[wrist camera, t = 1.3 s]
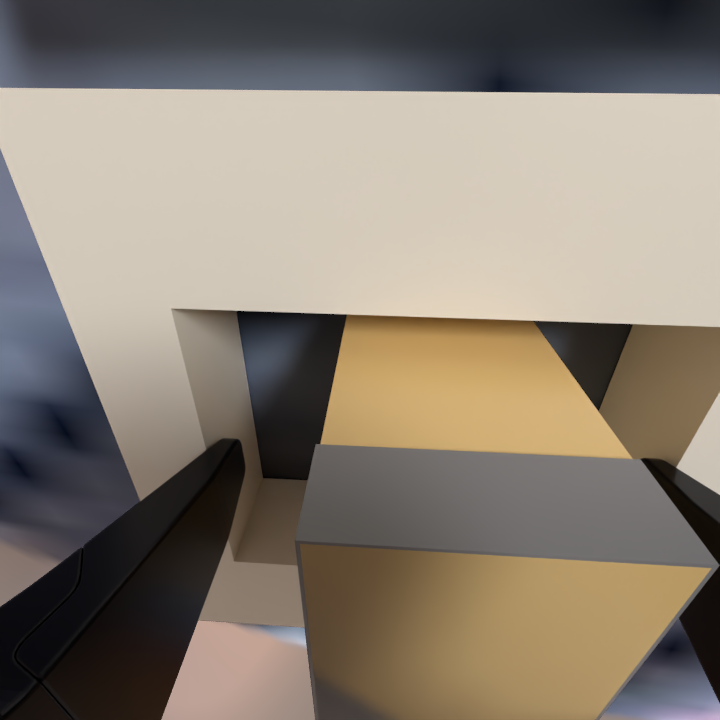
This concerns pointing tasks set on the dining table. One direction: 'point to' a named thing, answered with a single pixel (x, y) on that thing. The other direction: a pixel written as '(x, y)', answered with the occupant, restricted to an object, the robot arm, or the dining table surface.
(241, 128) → the white square frame
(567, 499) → the block
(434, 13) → the dining table surface
